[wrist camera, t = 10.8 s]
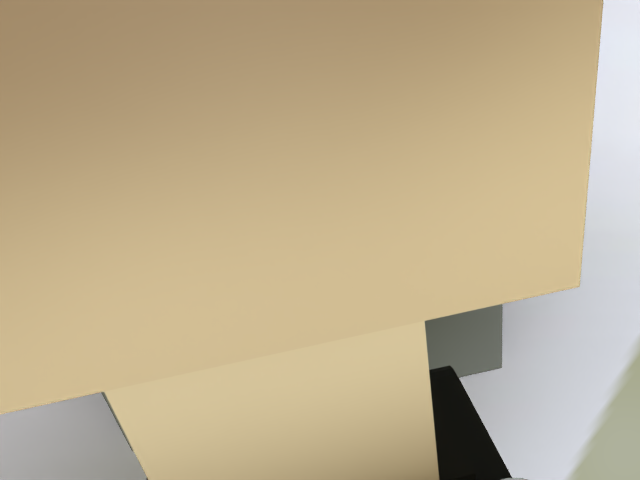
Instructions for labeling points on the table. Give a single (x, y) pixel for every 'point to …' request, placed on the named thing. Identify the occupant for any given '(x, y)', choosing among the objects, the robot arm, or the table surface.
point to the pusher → (279, 213)
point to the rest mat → (457, 343)
